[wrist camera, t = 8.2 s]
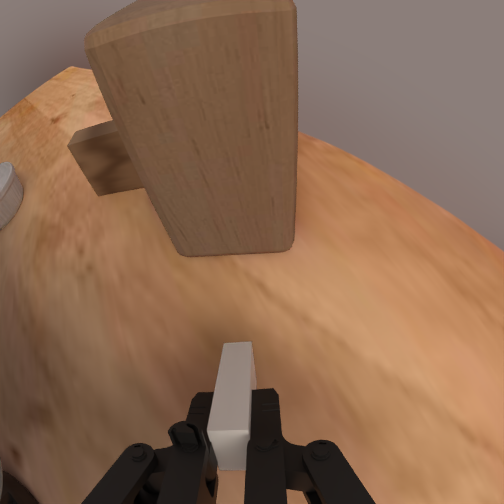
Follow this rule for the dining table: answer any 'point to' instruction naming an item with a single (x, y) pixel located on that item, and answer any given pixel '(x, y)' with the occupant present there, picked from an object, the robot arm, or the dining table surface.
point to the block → (207, 116)
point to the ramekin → (9, 193)
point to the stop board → (104, 159)
